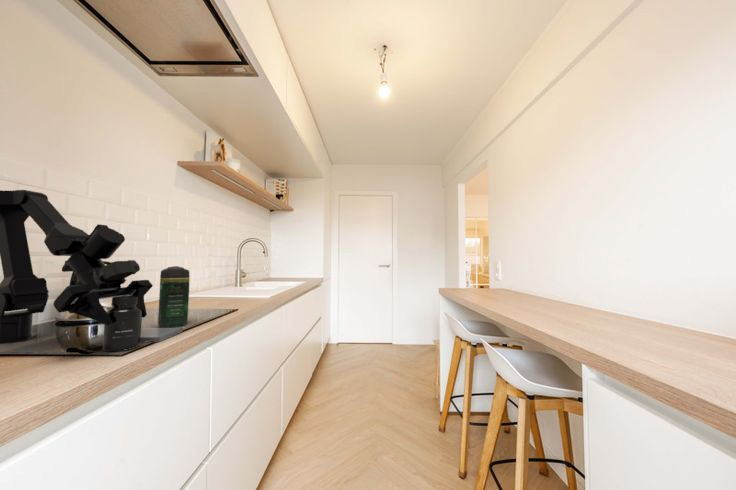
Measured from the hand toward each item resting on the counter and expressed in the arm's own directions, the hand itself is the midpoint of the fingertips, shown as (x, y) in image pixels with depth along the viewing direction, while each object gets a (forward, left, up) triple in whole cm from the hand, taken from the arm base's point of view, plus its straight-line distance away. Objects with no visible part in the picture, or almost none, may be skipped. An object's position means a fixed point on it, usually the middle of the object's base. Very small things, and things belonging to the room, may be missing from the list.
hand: (128, 319), depth 69 cm
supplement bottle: (-1, -1, -7) cm, 7 cm away
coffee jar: (-23, +8, -7) cm, 25 cm away
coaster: (-9, +4, -7) cm, 12 cm away
